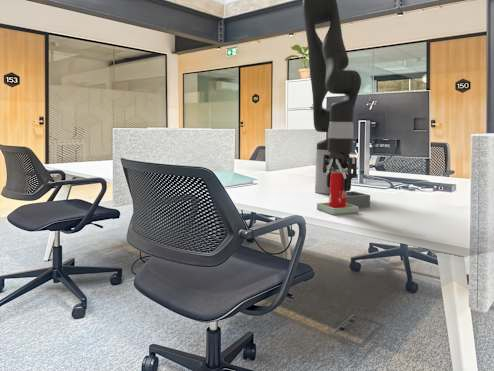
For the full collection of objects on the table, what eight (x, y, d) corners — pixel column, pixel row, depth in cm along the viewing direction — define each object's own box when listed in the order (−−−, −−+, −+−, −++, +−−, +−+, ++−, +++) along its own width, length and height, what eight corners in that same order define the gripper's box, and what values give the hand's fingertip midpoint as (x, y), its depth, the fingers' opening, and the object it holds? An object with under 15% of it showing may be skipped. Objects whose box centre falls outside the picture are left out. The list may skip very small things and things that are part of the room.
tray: (340, 207, 136) (340, 201, 136) (358, 212, 128) (358, 206, 127) (316, 209, 132) (316, 203, 132) (333, 215, 124) (333, 208, 124)
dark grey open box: (353, 202, 145) (353, 191, 144) (369, 207, 137) (370, 195, 137) (332, 204, 142) (333, 192, 141) (348, 208, 134) (349, 196, 133)
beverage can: (336, 207, 134) (337, 170, 132) (349, 209, 130) (351, 172, 128) (325, 209, 130) (327, 171, 128) (338, 212, 126) (340, 173, 124)
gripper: (365, 137, 122) (362, 191, 124) (336, 136, 134) (334, 185, 137) (344, 137, 119) (342, 193, 121) (317, 136, 131) (315, 186, 134)
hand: (338, 188), depth 129 cm, fingers open, 8 cm apart
